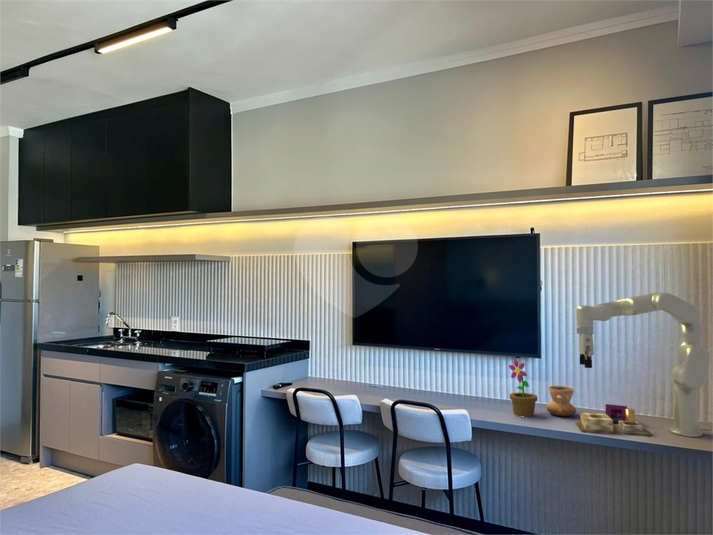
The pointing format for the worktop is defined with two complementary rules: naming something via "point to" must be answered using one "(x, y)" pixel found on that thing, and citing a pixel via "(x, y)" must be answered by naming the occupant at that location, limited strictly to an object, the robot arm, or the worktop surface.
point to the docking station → (608, 425)
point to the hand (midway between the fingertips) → (585, 366)
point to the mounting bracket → (616, 411)
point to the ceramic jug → (561, 401)
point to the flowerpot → (522, 394)
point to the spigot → (630, 416)
